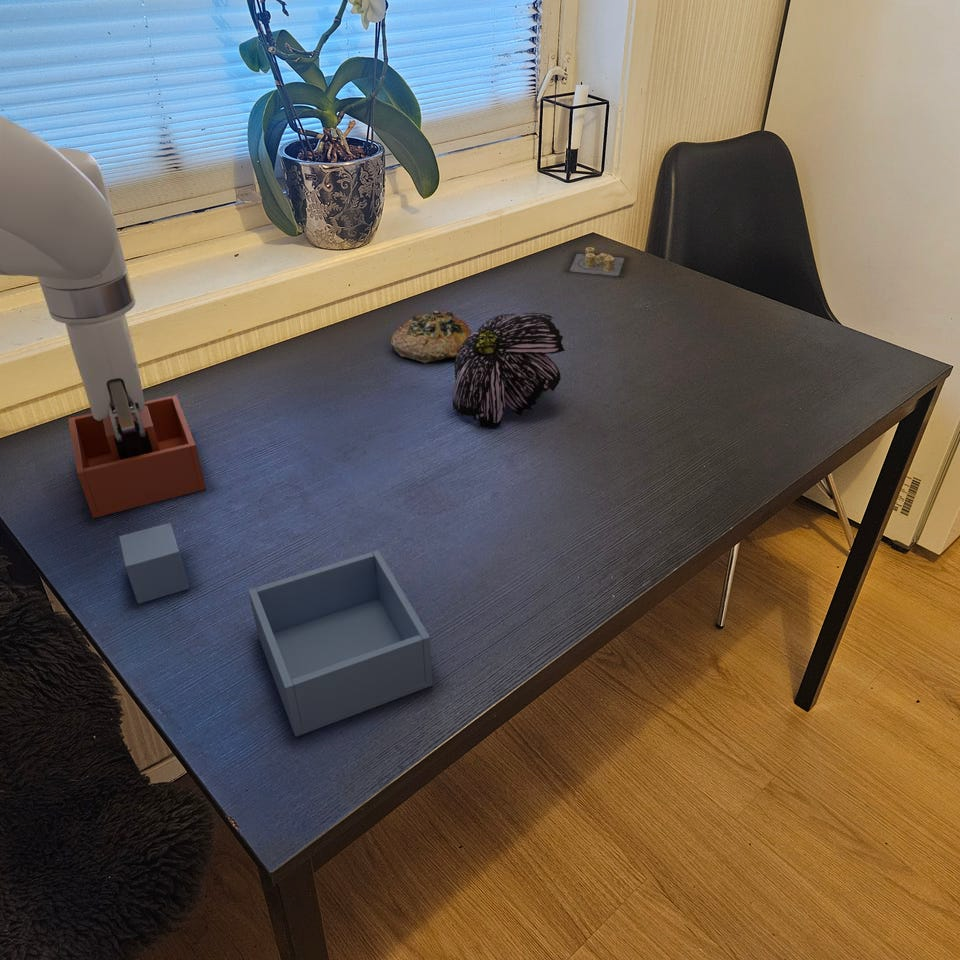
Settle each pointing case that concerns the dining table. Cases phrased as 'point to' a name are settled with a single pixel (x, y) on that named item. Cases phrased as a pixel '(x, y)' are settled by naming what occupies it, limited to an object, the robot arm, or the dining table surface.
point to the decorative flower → (506, 366)
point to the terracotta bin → (137, 462)
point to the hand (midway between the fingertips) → (136, 453)
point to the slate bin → (340, 640)
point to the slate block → (153, 563)
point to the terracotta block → (144, 417)
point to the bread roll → (430, 337)
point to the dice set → (597, 263)
